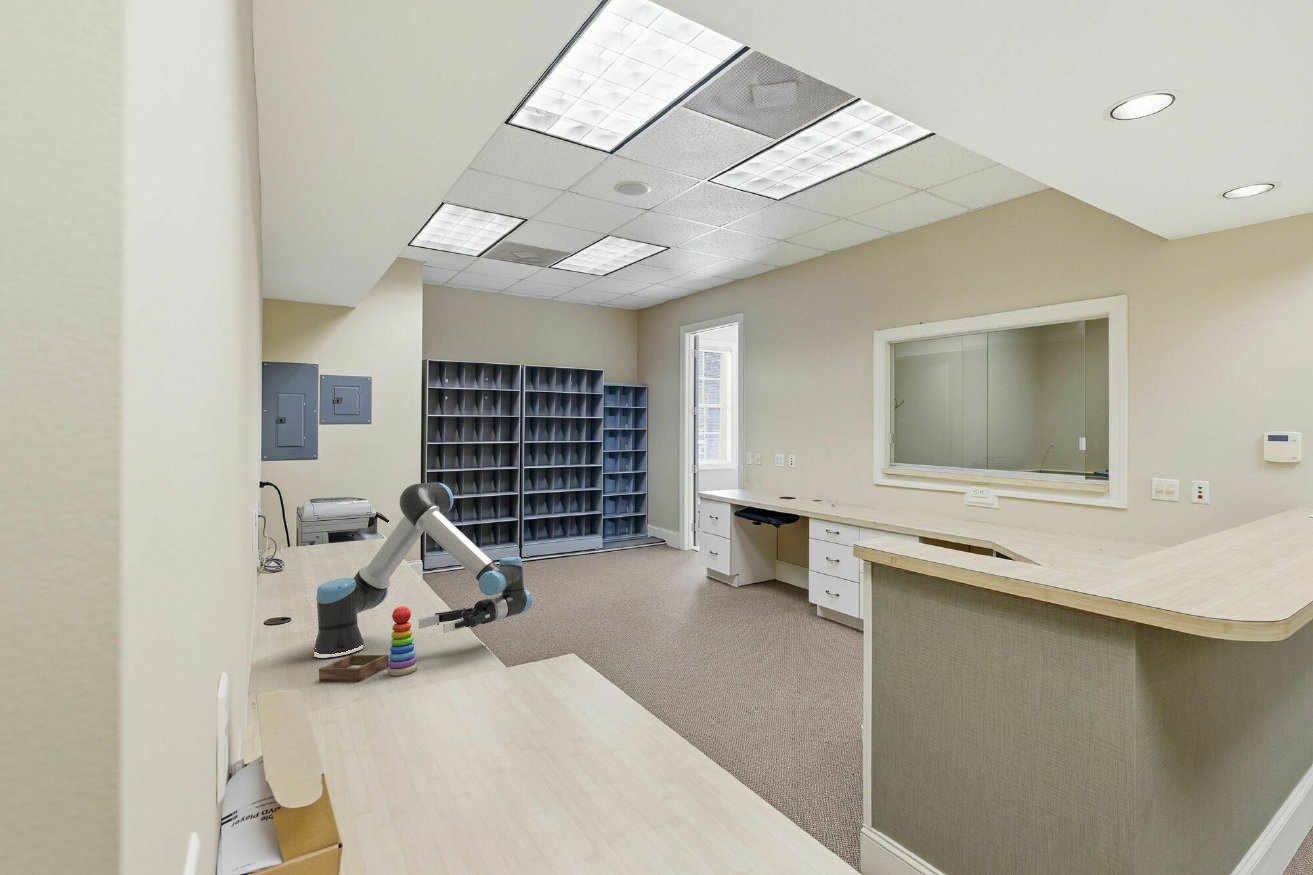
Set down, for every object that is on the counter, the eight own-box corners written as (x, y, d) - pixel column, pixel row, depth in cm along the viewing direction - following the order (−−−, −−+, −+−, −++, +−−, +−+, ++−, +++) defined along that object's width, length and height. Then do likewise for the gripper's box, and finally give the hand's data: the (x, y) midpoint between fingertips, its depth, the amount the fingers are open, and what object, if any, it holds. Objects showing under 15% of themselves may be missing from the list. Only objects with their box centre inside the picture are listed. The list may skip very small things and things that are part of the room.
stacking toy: (407, 676, 175) (403, 609, 176) (381, 676, 176) (378, 610, 177) (423, 667, 183) (419, 603, 184) (398, 667, 184) (395, 603, 185)
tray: (351, 666, 189) (351, 654, 189) (389, 666, 186) (388, 654, 186) (319, 681, 176) (318, 668, 176) (358, 682, 173) (357, 669, 173)
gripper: (514, 625, 196) (455, 643, 180) (468, 618, 212) (410, 634, 195) (513, 601, 197) (454, 617, 180) (467, 596, 212) (408, 610, 196)
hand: (431, 626), depth 188 cm, fingers open, 13 cm apart
